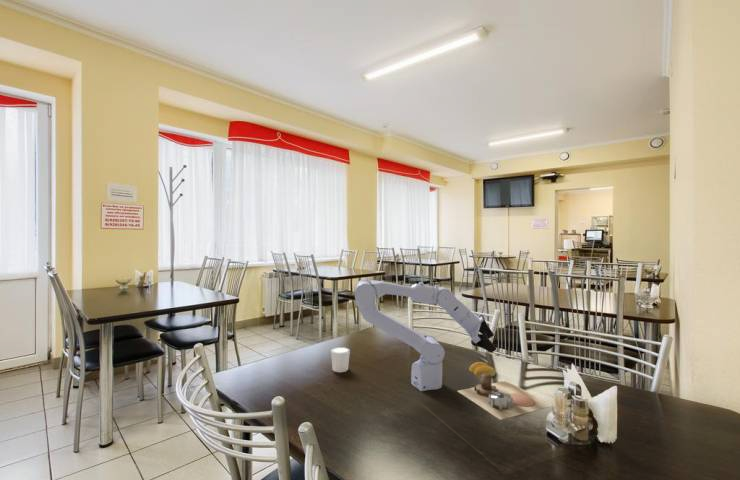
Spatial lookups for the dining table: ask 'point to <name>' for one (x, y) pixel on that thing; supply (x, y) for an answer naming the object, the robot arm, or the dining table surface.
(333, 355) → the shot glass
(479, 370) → the bread roll
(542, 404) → the carrier board
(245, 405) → the dining table surface
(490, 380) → the planet gear
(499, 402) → the sun gear
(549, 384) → the dining table surface
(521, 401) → the pink flat pad
